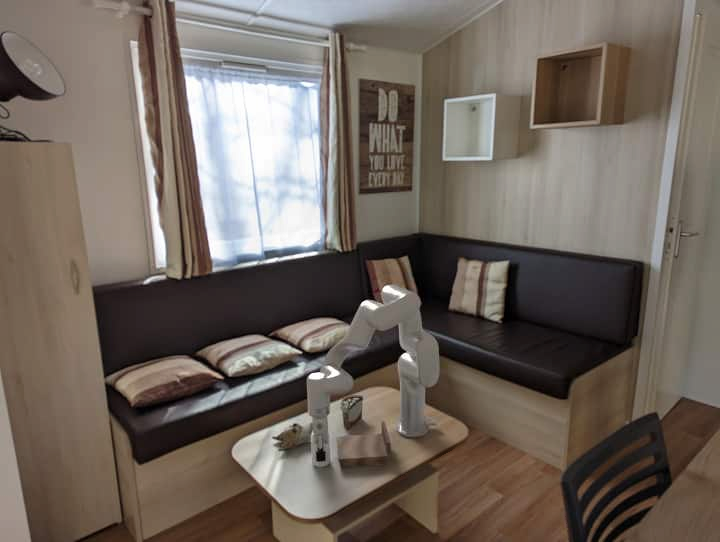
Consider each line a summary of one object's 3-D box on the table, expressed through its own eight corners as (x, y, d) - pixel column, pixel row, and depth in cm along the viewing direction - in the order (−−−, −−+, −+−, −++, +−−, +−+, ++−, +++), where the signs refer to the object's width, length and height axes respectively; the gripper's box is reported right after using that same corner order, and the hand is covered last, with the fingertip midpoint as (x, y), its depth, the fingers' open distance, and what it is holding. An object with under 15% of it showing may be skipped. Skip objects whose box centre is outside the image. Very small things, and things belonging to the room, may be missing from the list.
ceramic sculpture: (316, 425, 185) (276, 437, 180) (318, 446, 187) (279, 458, 182) (307, 412, 195) (269, 423, 189) (310, 432, 197) (272, 443, 192)
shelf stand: (384, 442, 189) (384, 421, 187) (390, 465, 176) (390, 442, 173) (336, 446, 187) (336, 424, 185) (338, 469, 174) (338, 446, 172)
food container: (351, 413, 210) (350, 391, 208) (363, 417, 207) (363, 395, 205) (334, 427, 200) (333, 404, 197) (347, 431, 197) (347, 408, 194)
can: (321, 470, 174) (320, 439, 171) (308, 463, 178) (306, 432, 175) (334, 460, 179) (333, 430, 176) (320, 454, 183) (319, 424, 180)
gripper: (331, 421, 165) (332, 469, 169) (328, 395, 182) (330, 440, 186) (307, 422, 164) (310, 470, 169) (308, 397, 181) (310, 441, 185)
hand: (320, 454), depth 177 cm, fingers closed on can, 6 cm apart
